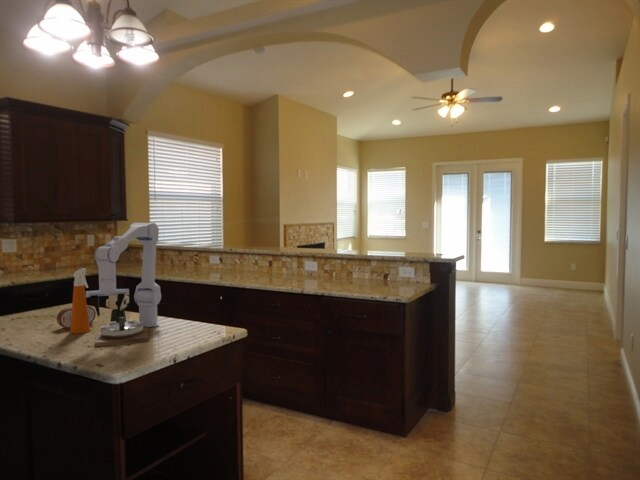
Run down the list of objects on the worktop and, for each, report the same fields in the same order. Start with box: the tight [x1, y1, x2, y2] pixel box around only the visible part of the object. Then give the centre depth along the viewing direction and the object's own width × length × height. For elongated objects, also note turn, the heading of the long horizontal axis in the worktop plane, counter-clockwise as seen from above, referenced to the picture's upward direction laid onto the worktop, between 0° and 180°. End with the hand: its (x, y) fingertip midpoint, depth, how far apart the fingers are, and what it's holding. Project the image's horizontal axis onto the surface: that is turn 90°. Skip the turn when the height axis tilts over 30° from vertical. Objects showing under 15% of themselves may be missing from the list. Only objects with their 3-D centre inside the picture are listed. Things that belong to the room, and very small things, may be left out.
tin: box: [56, 304, 97, 329], centre depth 193 cm, size 15×3×8 cm, turn 141°
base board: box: [94, 326, 149, 348], centre depth 176 cm, size 18×18×2 cm
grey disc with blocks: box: [100, 317, 143, 338], centre depth 176 cm, size 15×15×7 cm
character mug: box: [105, 293, 130, 323], centre depth 198 cm, size 11×7×13 cm, turn 148°
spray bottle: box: [70, 267, 91, 335], centre depth 182 cm, size 7×11×26 cm, turn 53°
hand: (108, 314), depth 169 cm, fingers open, 6 cm apart
